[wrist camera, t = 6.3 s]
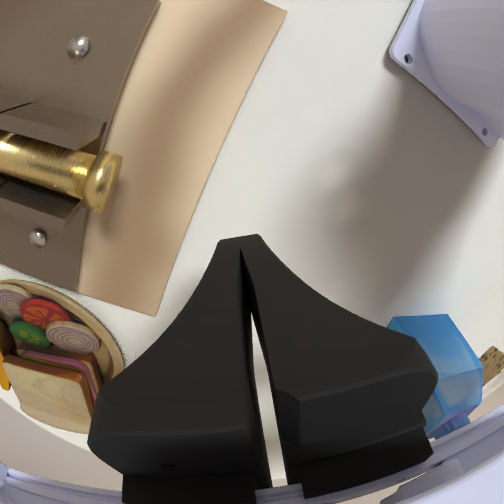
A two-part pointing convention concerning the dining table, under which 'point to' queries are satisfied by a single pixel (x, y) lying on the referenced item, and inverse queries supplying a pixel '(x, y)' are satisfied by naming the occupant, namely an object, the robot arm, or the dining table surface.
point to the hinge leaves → (60, 114)
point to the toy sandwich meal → (53, 354)
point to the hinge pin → (61, 169)
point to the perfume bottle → (445, 371)
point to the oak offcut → (170, 140)
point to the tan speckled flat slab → (491, 363)
